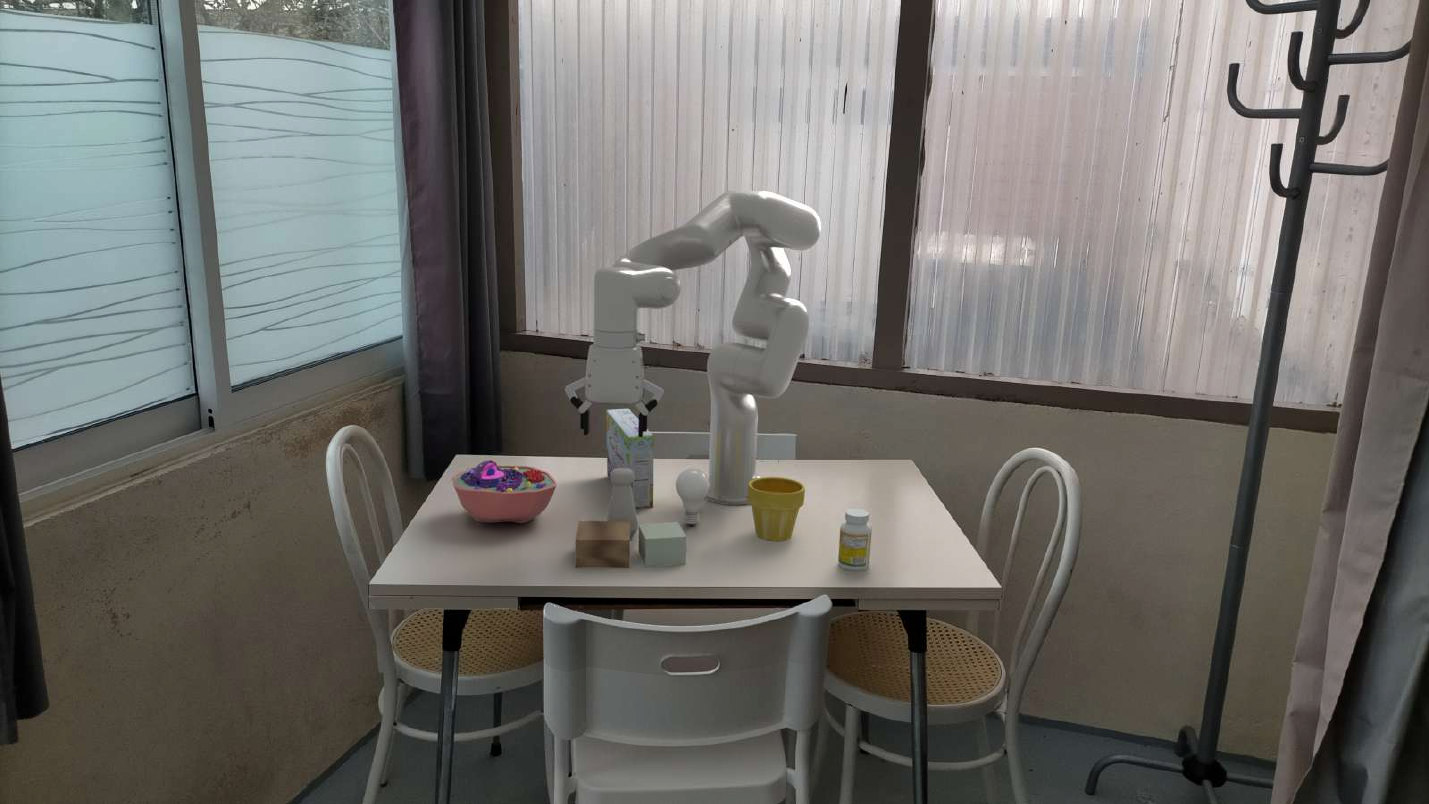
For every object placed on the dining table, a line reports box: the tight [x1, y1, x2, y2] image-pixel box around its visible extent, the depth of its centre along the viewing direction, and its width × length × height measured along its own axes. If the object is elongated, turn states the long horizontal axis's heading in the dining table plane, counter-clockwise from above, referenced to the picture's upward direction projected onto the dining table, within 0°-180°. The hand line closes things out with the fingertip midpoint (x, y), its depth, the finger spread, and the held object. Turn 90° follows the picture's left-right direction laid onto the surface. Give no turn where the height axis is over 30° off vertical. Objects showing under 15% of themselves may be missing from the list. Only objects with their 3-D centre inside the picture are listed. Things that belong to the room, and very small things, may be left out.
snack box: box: [605, 408, 655, 510], centre depth 209 cm, size 21×6×15 cm, turn 18°
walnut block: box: [575, 520, 631, 569], centre depth 176 cm, size 9×9×5 cm
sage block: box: [637, 521, 688, 568], centre depth 176 cm, size 7×7×5 cm
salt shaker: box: [606, 468, 639, 542], centre depth 184 cm, size 6×6×13 cm
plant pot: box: [748, 476, 806, 542], centre depth 188 cm, size 10×10×10 cm
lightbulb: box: [675, 467, 710, 526], centre depth 192 cm, size 6×6×11 cm
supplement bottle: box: [837, 508, 873, 571], centre depth 176 cm, size 5×5×10 cm
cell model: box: [451, 459, 558, 524], centre depth 191 cm, size 17×20×11 cm
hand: (613, 434), depth 182 cm, fingers open, 9 cm apart
